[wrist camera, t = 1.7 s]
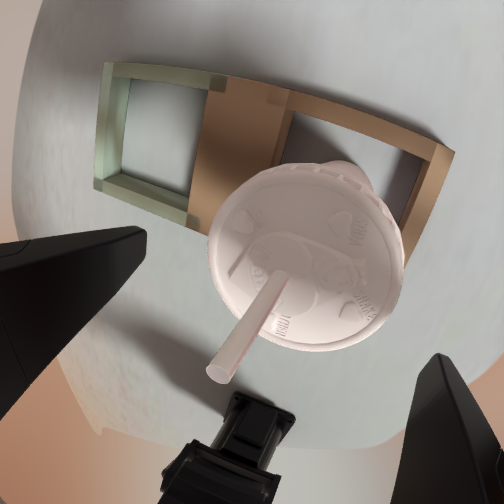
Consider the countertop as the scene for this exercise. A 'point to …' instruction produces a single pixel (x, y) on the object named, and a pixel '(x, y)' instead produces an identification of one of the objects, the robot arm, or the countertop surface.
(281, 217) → the smoothie
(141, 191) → the caddy
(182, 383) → the countertop surface
